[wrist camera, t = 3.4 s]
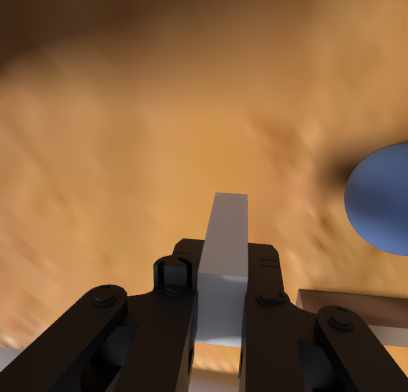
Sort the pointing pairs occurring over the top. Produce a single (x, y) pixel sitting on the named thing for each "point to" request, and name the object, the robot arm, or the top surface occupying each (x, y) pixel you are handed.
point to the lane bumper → (365, 312)
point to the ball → (381, 199)
